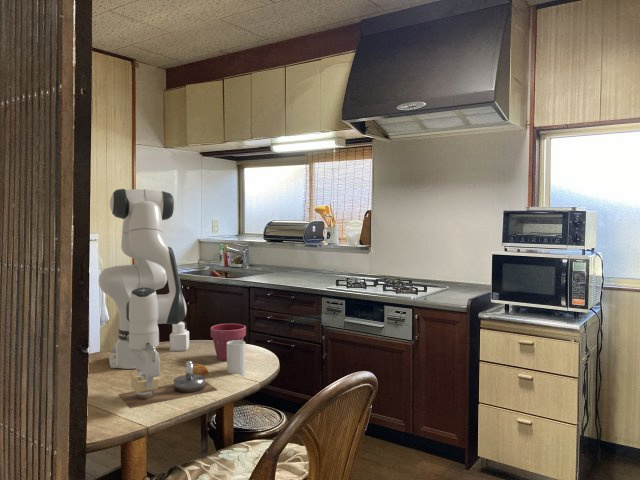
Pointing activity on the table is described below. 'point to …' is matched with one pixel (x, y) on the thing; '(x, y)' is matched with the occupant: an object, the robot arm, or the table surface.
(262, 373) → the table surface
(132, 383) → the collar
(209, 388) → the base board
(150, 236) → the robot arm
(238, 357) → the mug
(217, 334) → the plant pot
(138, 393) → the silver knob
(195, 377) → the hub
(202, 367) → the pastry
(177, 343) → the medicine bottle
